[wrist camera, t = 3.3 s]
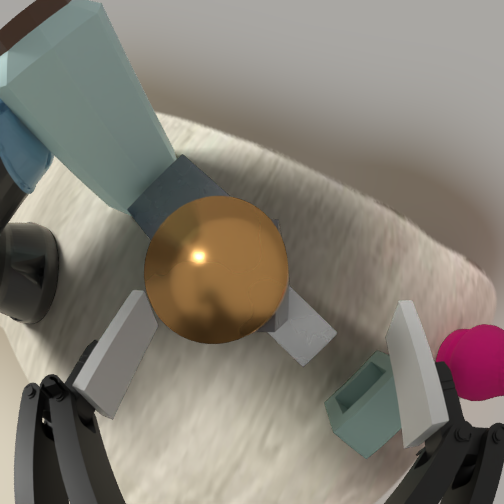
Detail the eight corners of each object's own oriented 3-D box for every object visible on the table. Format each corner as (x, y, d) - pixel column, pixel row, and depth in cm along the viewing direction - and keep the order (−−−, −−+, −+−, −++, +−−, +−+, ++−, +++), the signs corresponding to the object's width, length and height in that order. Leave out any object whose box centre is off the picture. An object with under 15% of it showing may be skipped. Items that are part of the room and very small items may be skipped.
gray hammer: (169, 226, 27) (38, 125, 10) (199, 196, 27) (95, 67, 10) (299, 361, 22) (305, 477, 5) (334, 327, 22) (433, 359, 5)
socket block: (324, 402, 22) (333, 432, 15) (377, 350, 23) (405, 362, 16) (350, 426, 21) (366, 459, 14) (401, 375, 22) (434, 392, 15)
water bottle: (133, 238, 28) (-42, 73, 4) (99, 188, 31) (-23, 53, 7) (201, 177, 29) (107, -41, 6) (156, 137, 32) (73, -23, 8)
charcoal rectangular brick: (158, 230, 29) (126, 209, 22) (204, 185, 29) (182, 154, 23) (218, 297, 26) (194, 292, 20) (269, 246, 26) (261, 224, 20)
